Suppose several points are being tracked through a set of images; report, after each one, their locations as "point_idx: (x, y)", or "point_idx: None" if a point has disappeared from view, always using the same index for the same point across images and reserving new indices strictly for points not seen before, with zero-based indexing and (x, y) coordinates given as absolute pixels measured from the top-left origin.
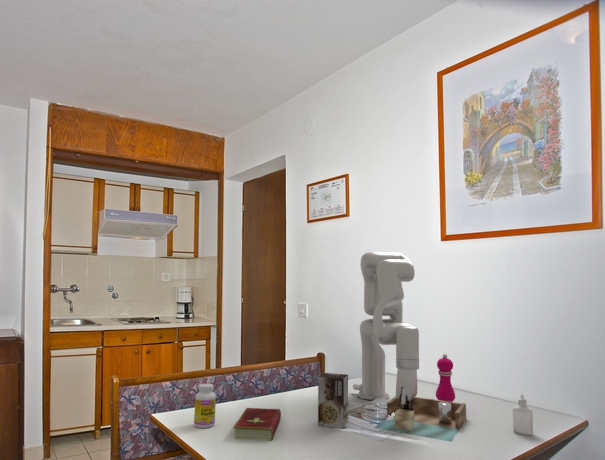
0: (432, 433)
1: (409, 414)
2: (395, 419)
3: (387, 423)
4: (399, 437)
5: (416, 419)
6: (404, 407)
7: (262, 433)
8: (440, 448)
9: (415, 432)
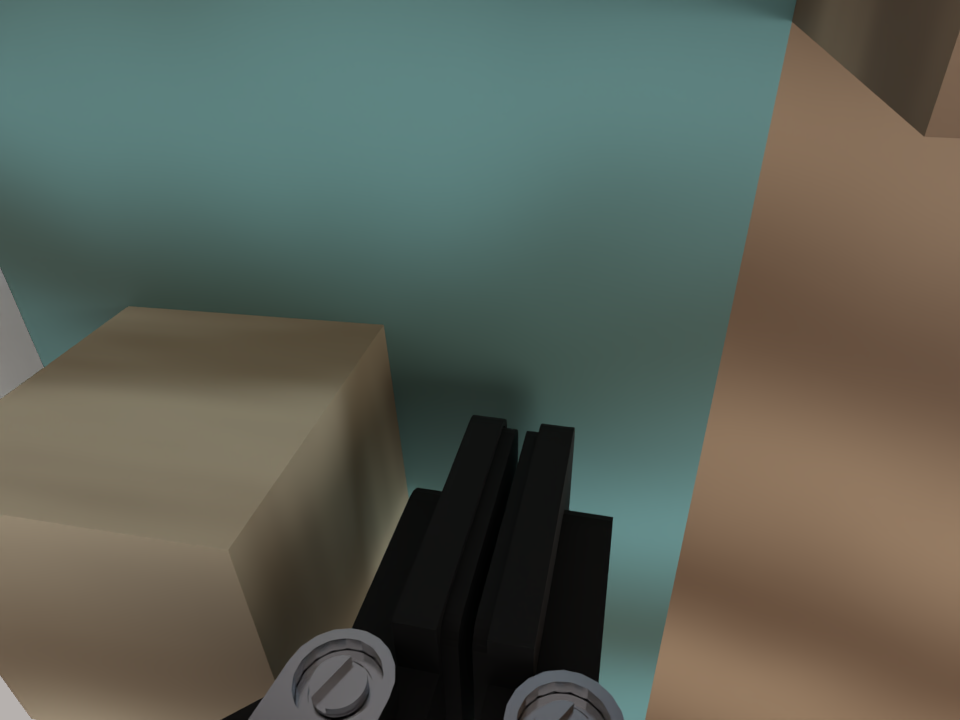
0: None
1: (30, 709)
2: (8, 406)
3: (292, 100)
4: (34, 372)
5: (865, 551)
6: (305, 688)
7: None
8: None
9: None
